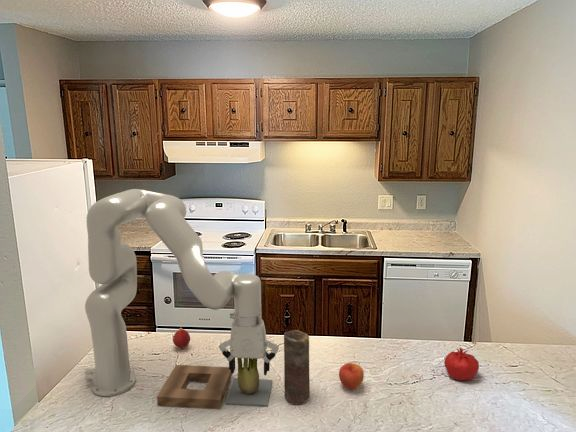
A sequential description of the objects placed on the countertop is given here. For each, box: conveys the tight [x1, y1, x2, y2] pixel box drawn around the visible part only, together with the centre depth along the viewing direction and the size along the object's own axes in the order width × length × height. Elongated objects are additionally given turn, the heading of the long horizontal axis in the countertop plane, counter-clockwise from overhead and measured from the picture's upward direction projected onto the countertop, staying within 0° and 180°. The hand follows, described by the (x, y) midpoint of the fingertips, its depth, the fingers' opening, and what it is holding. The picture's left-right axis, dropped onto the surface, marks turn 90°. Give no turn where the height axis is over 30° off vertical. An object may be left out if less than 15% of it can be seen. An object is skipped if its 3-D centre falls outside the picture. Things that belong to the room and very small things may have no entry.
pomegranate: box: [443, 347, 480, 381], centre depth 133 cm, size 10×10×9 cm
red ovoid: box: [172, 327, 191, 350], centre depth 149 cm, size 6×6×8 cm
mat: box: [225, 377, 273, 408], centre depth 125 cm, size 12×12×1 cm
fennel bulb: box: [236, 358, 260, 394], centre depth 124 cm, size 6×5×12 cm
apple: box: [338, 362, 365, 391], centre depth 127 cm, size 7×7×8 cm
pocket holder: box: [156, 364, 233, 410], centre depth 126 cm, size 18×16×3 cm
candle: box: [283, 329, 311, 405], centre depth 121 cm, size 8×7×20 cm
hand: (249, 372), depth 124 cm, fingers open, 9 cm apart
